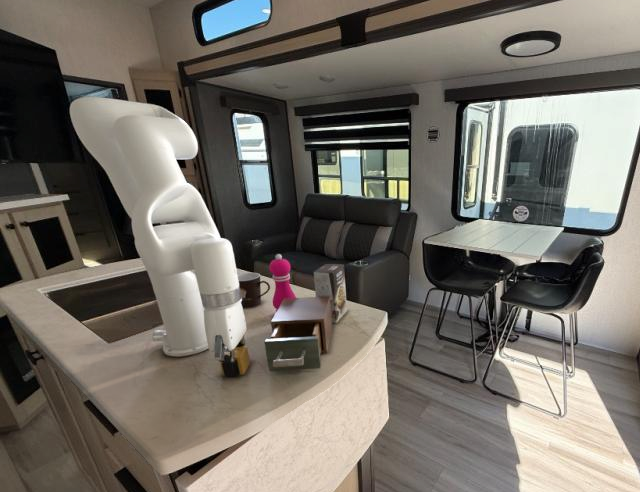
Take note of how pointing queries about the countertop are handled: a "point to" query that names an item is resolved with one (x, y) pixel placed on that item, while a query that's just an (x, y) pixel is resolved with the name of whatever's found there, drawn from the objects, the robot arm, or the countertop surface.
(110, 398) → the countertop surface
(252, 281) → the coffee mug
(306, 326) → the drawer
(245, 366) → the block
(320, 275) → the coffee box
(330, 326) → the cabinet
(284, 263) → the pepper mill
